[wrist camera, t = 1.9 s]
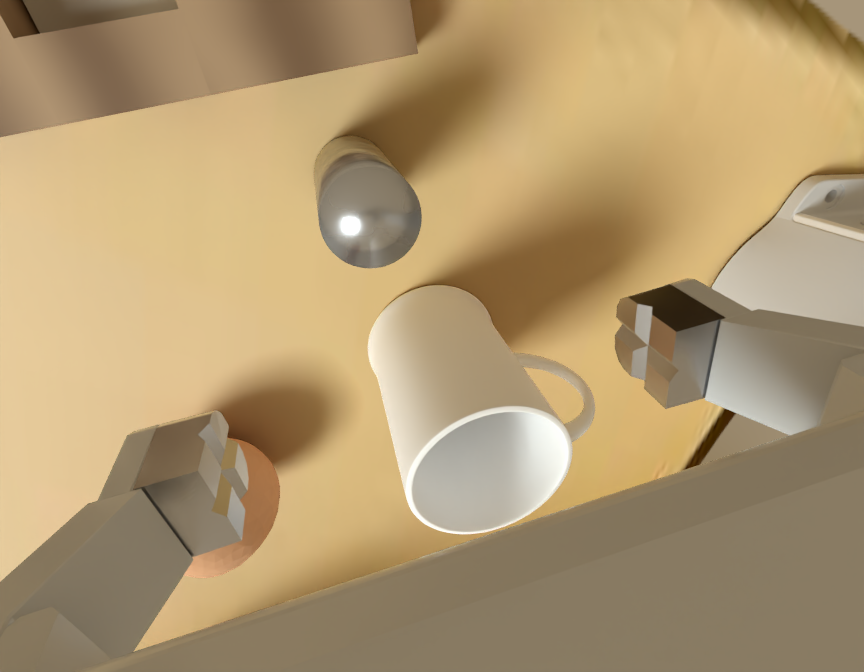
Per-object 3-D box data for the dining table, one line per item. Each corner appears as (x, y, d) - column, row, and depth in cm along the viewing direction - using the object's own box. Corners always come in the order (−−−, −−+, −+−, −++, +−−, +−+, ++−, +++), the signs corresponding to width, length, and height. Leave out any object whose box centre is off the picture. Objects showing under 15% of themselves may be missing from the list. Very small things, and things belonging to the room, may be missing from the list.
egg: (198, 395, 30) (165, 503, 22) (302, 436, 33) (302, 541, 26) (144, 473, 32) (99, 595, 24) (248, 504, 35) (234, 619, 28)
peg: (380, 127, 24) (411, 156, 18) (396, 204, 26) (429, 255, 20) (303, 144, 24) (304, 180, 17) (325, 220, 26) (334, 278, 19)
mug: (546, 282, 31) (662, 389, 21) (523, 386, 36) (610, 517, 26) (368, 284, 29) (406, 410, 18) (366, 398, 33) (395, 550, 23)
